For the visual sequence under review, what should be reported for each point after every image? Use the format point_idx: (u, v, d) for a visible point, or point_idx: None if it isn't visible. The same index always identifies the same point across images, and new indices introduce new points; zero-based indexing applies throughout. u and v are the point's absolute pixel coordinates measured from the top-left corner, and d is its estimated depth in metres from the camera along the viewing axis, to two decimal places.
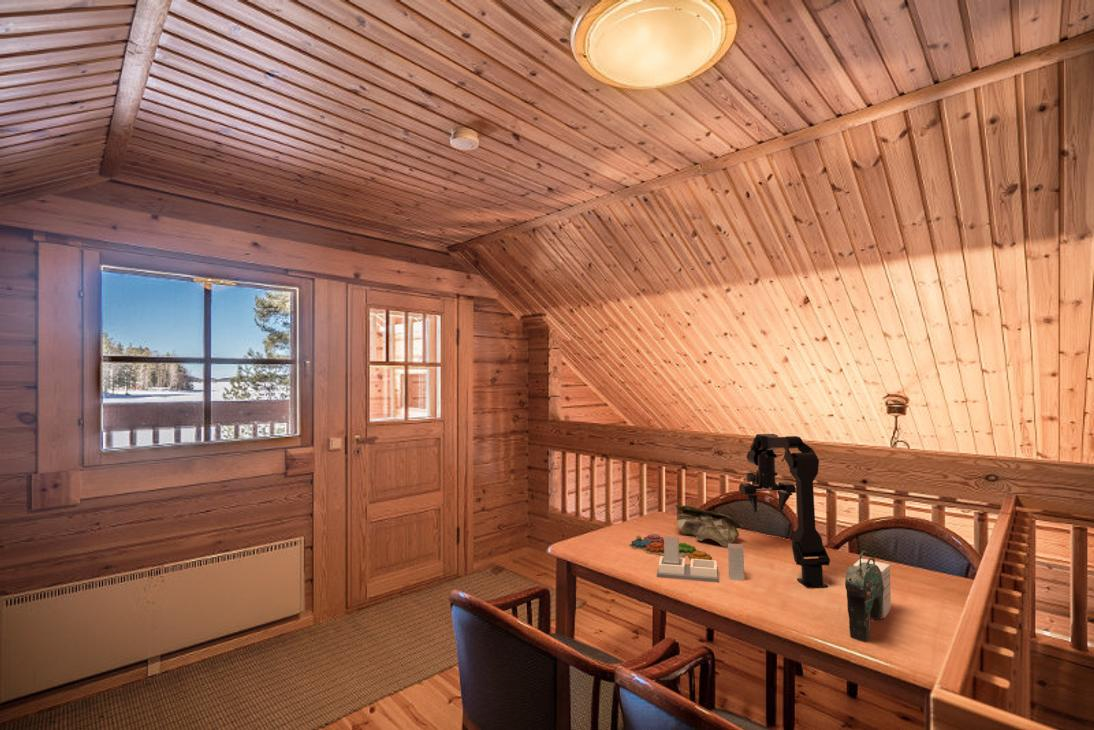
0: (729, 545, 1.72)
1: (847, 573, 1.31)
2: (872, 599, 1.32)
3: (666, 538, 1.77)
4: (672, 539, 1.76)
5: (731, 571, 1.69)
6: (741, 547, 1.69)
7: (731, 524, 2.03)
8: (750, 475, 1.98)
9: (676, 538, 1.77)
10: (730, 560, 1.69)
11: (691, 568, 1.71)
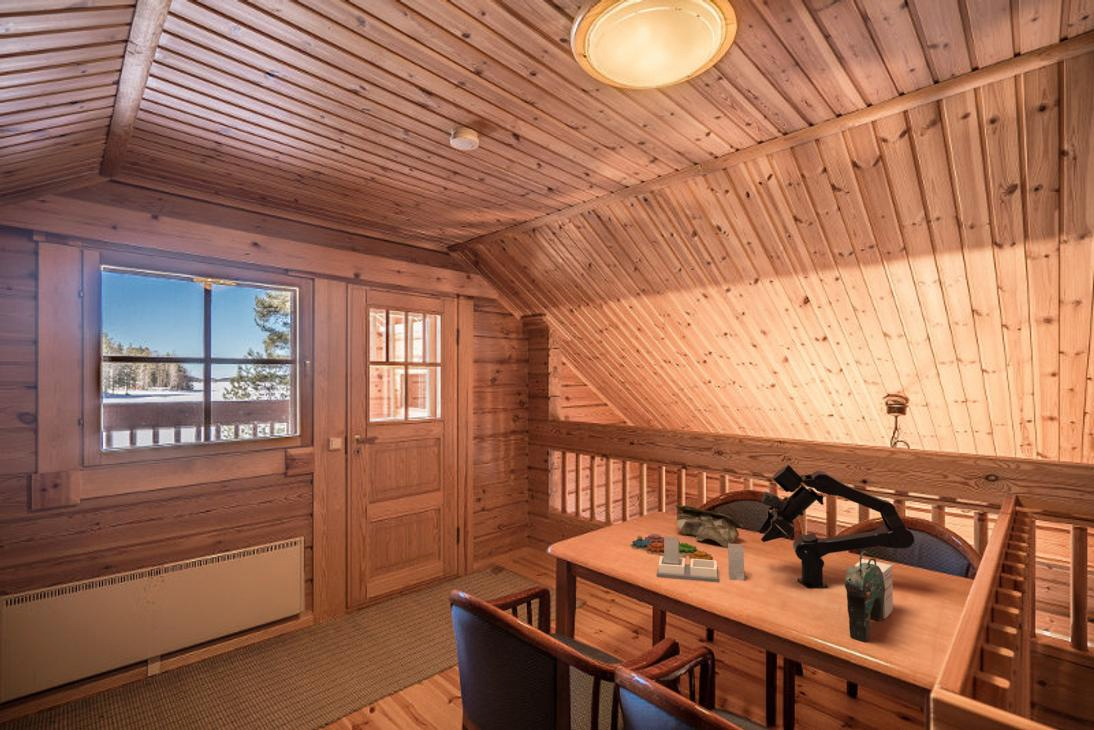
0: (729, 545, 1.72)
1: (847, 573, 1.31)
2: (872, 599, 1.32)
3: (666, 538, 1.77)
4: (672, 539, 1.76)
5: (731, 571, 1.69)
6: (741, 547, 1.69)
7: (731, 524, 2.03)
8: (778, 500, 1.64)
9: (676, 538, 1.77)
10: (730, 560, 1.69)
11: (691, 568, 1.71)
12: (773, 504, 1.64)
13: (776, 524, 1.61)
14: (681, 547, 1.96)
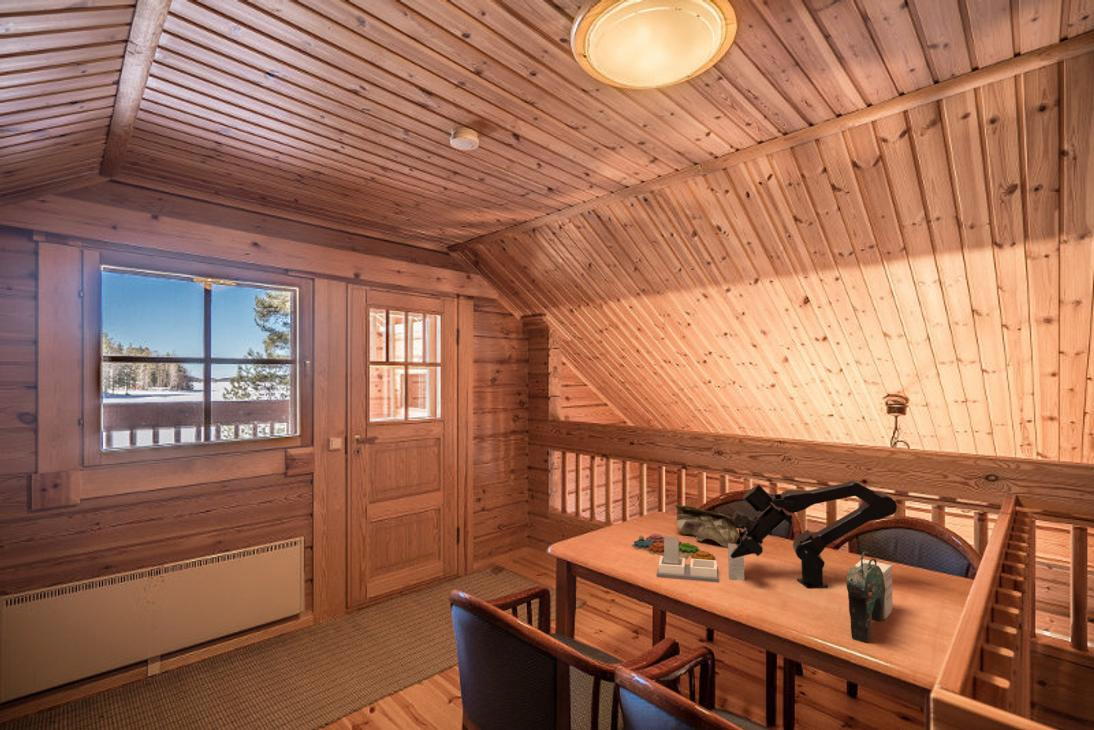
0: (729, 545, 1.72)
1: (848, 574, 1.31)
2: (874, 600, 1.32)
3: (666, 538, 1.77)
4: (672, 539, 1.76)
5: (731, 571, 1.69)
6: None
7: (731, 524, 2.03)
8: (748, 520, 1.66)
9: (676, 538, 1.77)
10: (730, 560, 1.69)
11: (691, 568, 1.71)
12: (743, 523, 1.66)
13: None
14: (683, 547, 1.96)
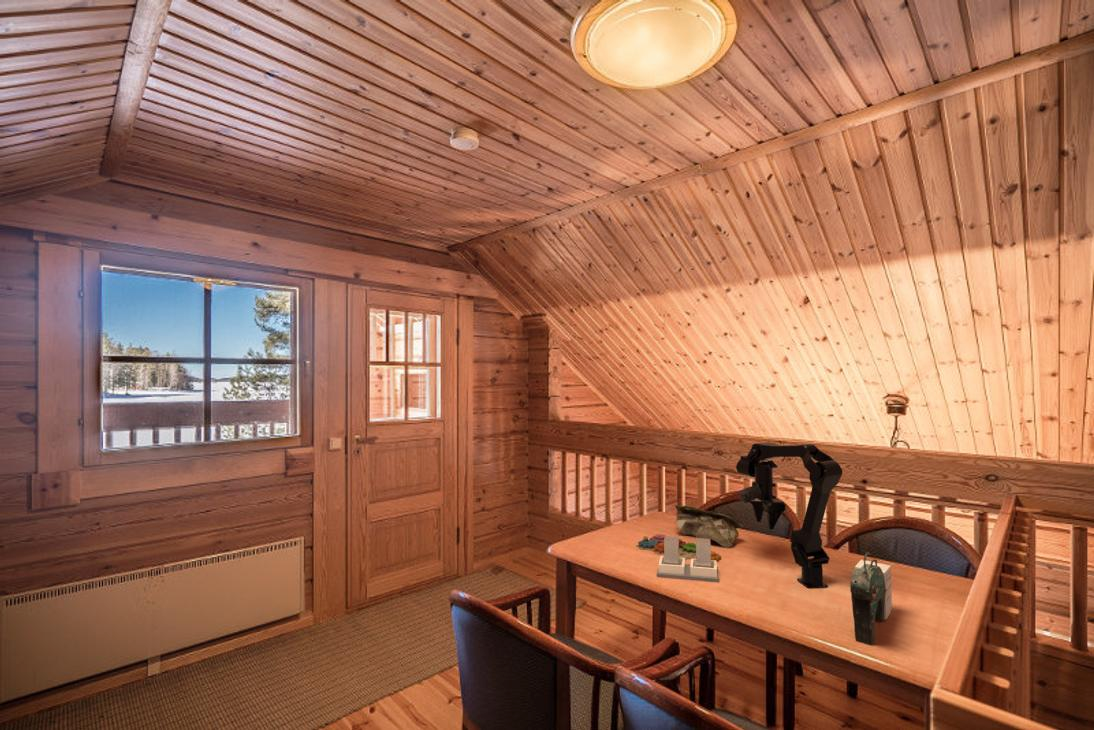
0: (697, 540, 1.74)
1: (852, 575, 1.29)
2: (877, 601, 1.31)
3: (666, 538, 1.77)
4: (672, 539, 1.76)
5: (698, 565, 1.72)
6: (708, 541, 1.72)
7: (731, 524, 2.03)
8: (754, 492, 1.78)
9: (676, 538, 1.77)
10: (697, 554, 1.72)
11: (691, 568, 1.71)
12: (754, 497, 1.78)
13: None
14: (688, 547, 1.96)
